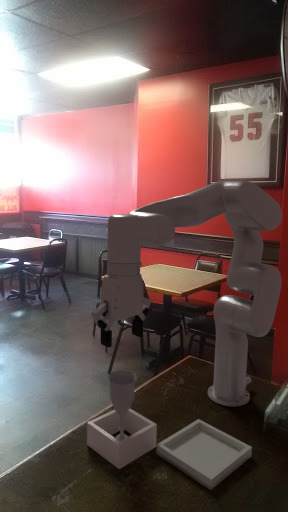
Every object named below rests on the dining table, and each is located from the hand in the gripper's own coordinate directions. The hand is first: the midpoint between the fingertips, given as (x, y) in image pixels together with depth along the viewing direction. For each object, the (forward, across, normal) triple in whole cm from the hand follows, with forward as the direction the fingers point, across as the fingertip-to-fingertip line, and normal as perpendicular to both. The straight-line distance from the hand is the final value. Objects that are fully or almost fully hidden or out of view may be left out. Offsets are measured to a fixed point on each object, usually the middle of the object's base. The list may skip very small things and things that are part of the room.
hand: (122, 340), depth 96 cm
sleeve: (+27, 0, 0) cm, 27 cm away
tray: (+27, -12, +16) cm, 34 cm away
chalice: (+28, 0, 0) cm, 28 cm away
